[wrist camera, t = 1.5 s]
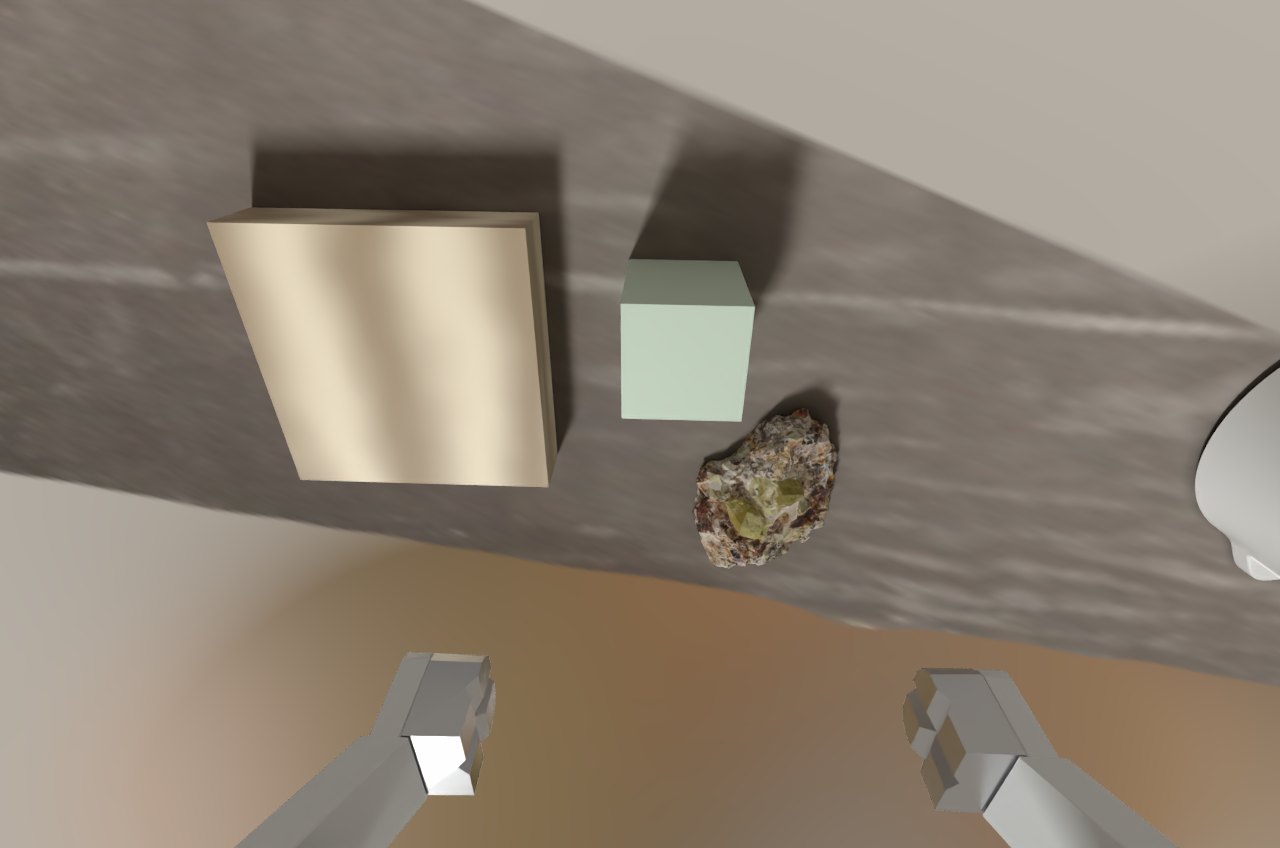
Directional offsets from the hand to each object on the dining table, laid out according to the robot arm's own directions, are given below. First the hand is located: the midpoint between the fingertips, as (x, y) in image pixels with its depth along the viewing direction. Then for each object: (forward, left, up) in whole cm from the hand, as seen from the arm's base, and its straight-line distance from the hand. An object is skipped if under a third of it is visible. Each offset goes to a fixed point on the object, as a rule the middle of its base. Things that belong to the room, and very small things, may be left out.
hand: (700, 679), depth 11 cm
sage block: (0, 0, -20) cm, 20 cm away
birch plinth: (+13, +2, -20) cm, 24 cm away
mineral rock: (-6, +10, -20) cm, 23 cm away
